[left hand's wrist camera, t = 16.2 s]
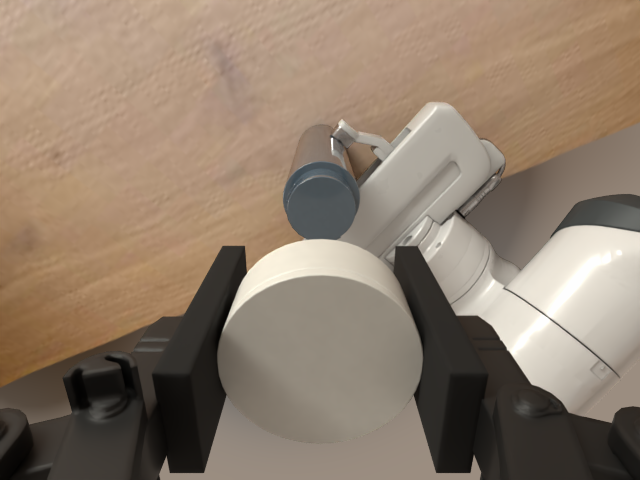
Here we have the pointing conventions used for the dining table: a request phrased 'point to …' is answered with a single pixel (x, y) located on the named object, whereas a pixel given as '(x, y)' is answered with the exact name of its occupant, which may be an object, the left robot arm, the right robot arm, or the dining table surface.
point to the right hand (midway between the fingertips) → (312, 153)
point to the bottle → (321, 187)
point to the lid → (320, 343)
